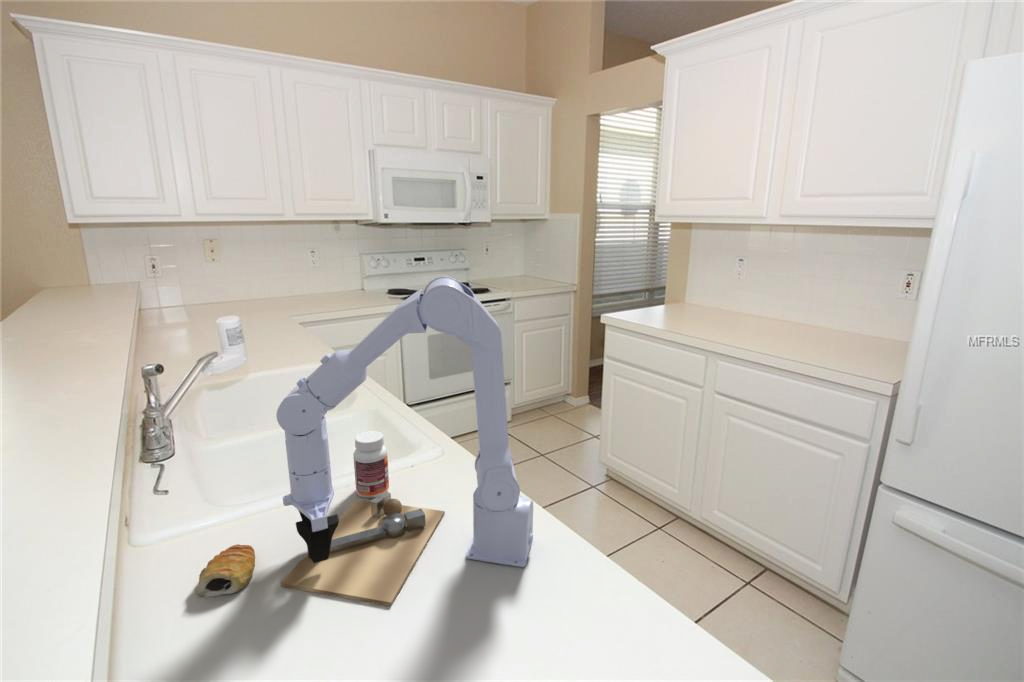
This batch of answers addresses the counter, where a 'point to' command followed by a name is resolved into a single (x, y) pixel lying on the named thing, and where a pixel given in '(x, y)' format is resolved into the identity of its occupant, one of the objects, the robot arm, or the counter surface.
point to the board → (365, 559)
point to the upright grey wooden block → (379, 504)
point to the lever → (381, 530)
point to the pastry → (227, 571)
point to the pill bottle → (370, 464)
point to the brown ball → (392, 506)
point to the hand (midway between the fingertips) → (317, 545)
